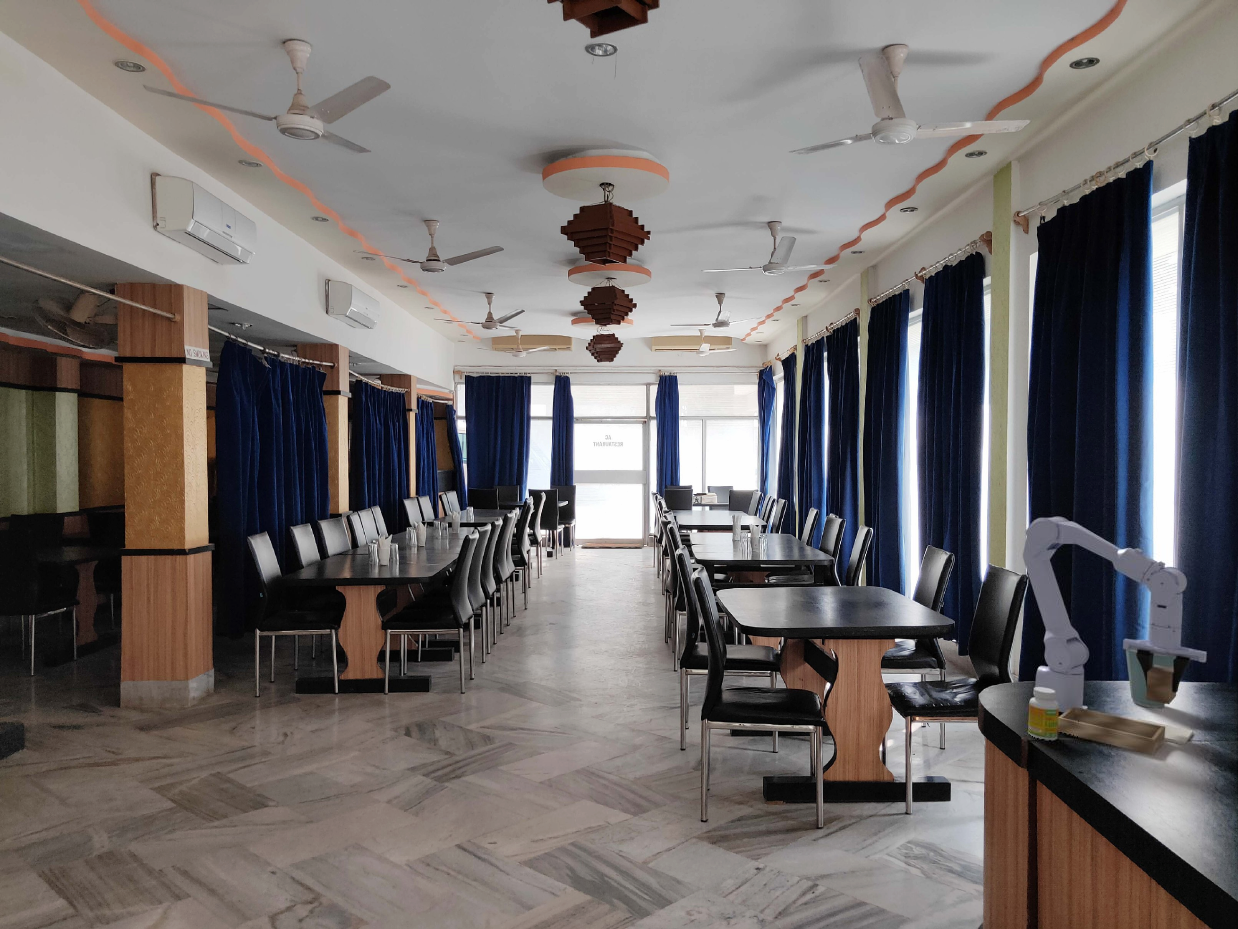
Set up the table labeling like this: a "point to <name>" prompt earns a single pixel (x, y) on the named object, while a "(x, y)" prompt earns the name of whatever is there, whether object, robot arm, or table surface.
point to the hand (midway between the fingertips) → (1161, 688)
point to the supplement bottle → (1043, 714)
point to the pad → (1174, 733)
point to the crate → (1112, 730)
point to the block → (1160, 684)
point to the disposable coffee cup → (1143, 677)
